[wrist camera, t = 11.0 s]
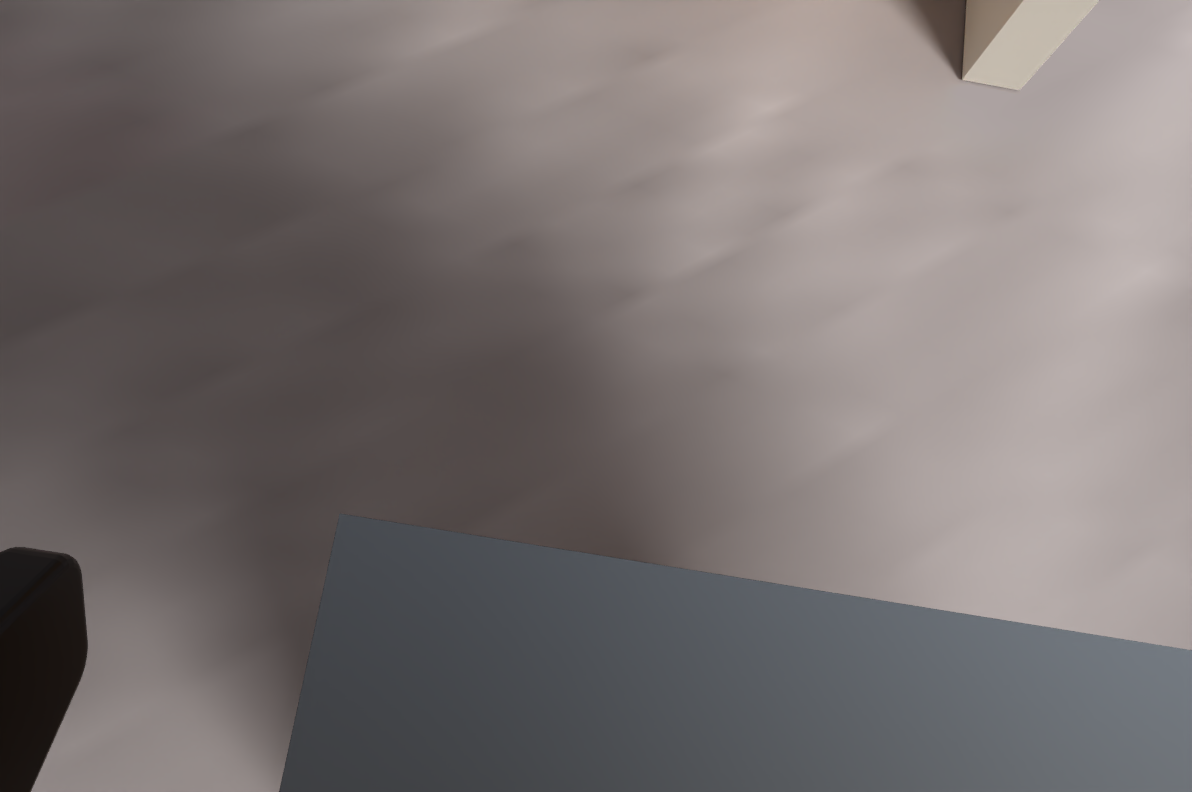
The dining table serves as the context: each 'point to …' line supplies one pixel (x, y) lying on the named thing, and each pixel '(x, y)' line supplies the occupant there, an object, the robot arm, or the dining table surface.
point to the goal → (1015, 37)
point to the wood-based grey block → (701, 683)
